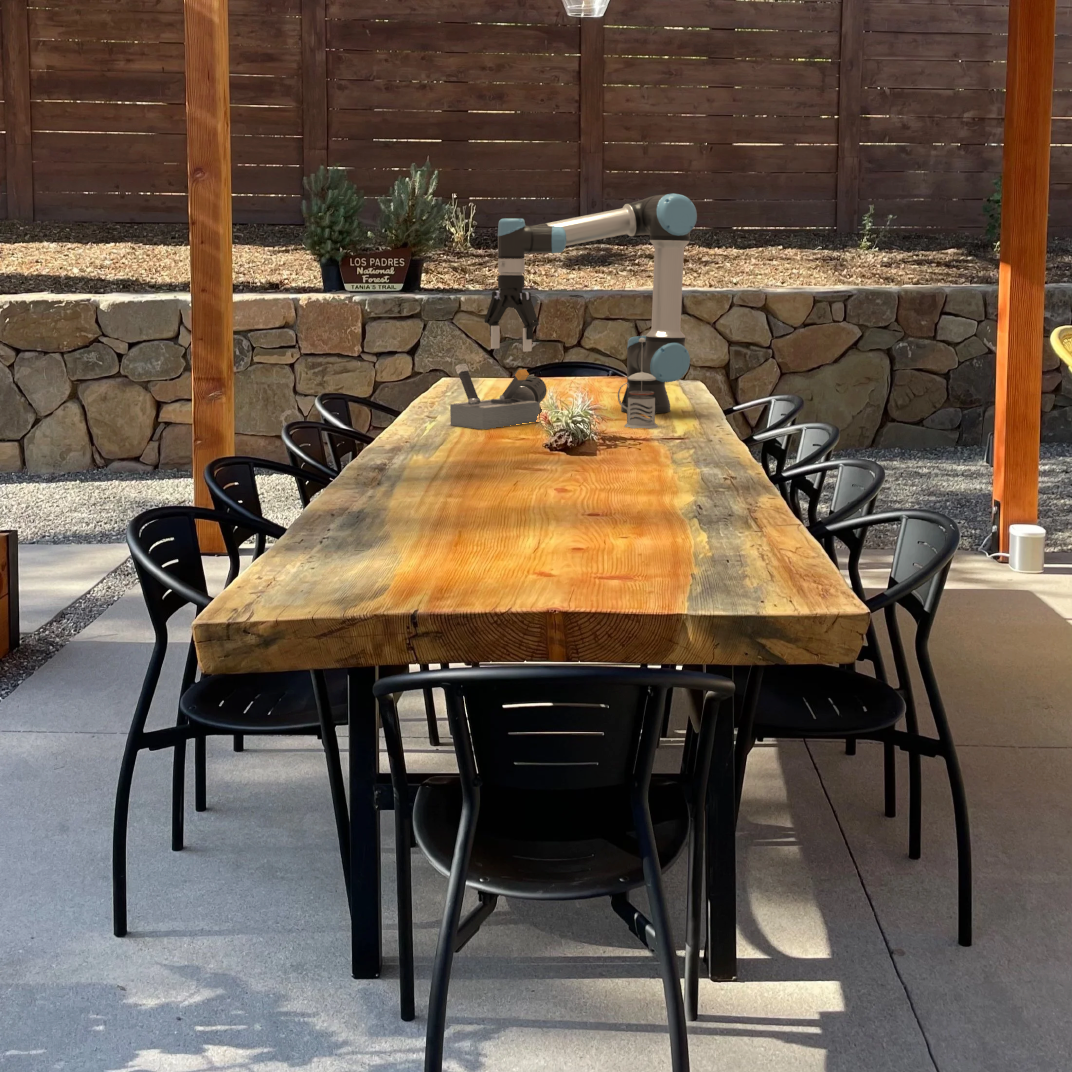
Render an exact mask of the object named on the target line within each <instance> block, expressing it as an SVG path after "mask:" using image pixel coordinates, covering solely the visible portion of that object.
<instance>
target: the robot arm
mask: <svg viewBox="0 0 1072 1072" xmlns="http://www.w3.org/2000/svg"><path fill="white" fill-rule="evenodd" d="M697 220H698V213H697V209H696V206H695V205H694V203H693V202H692V200H691V199H690V198H689V197H687V196H686V195H683V194H679V193H667V194H656V195H653V196H649V197H646V198H643V199H640V200H637V201H633V202H629V203H625V204H624V205H623V206H622V208H617V209H612V210H607V211H606V210H605V211H601V212H597V213H591V214H586V215H582V216H576V217H575V216H574V217H570V218H566V219H561V220H557V221H552V222H546V223H540V224H536V225H526V223H525V219H524V218H506V217H505V218H501V219H500V220H499V221H498V227H497V258H498V259H497V273H499V275H498V276H497V287H498V289H499V290H493V291H491V299H490V302H489V306H488V307H487V308H488V309H487V311H486V315H485V318H484V323H485V324H488V326H489V336H490V349H492V350H495V349H500V342H501V341H500V340H501V338H500V337H501V336H500V333H501V331H500V327H501V326H500V324H499V322H500V321H501V319H502V317H503V315H504V313H505V312H506V311H507V309H509V308H510V309H511V308H512V309H514V310H515V311H516V313H517V315H518V317H519V318H520V320H521V322H522V324H523V325H524V326H523V327H522V352H532V350H533V349H532V348H533V347H532V342H533V339H534V336H533V335H534V327H539V320H538V317H537V313H536V311H535V308H534V304H533V302H532V294H531V292H527V291H525V292H524V291H523V289H524V288H525V275H523V274H525V267H526V265H525V258H526V256H525V254H531V253H533V254H552V255H553V254H560V253H563V252H564V251H565V248H566V246H571V245H576V244H577V245H578V244H581V243H586V242H587V243H588V242H592V241H593V242H594V241H598V240H602V239H608V238H612V237H617V236H623V235H628V236H629V237H634V236H645V235H648V236H649V242H650V243H651V245H653V247H654V255H653V258H654V259H653V278H652V279H653V282H652V284H653V285H652V286H653V287H652V308H651V329H650V331H648V332H647V333H646V334H645V335H638V336H636V335H635V336H631V337H629V339H628V340H627V347H626V357H627V358H626V361H627V362H626V365H627V368H626V376H627V377H626V383H627V382H628V383H629V388H628V387H627V386H626V387H625V388H626V389H625V391H624V394H623V397H622V400H621V403H622V404H623V405H624V406H625V407H627V408H628V397H633V396H650V397H655V414H663V413H665V414H666V413H669V412H671V403H670V398H669V395H668V391H667V389H666V383H672V382H676V381H679V380H681V379H682V378H683V377H684V376H685V375H686V373H688V370H689V368H690V365H691V357H690V353H689V351H688V349H687V348H686V335H685V334H684V333H683V332H682V330H681V322H682V321H681V320H682V319H681V318H682V302H683V301H682V299H683V278H684V275H683V274H684V261H685V259H684V258H685V257H684V255H685V247H687V245H688V244H690V241H691V240H690V238H691V231H692V230H693V229H694V227H695V225H696V224H697ZM640 338H644V339H645V342H639V339H640ZM641 365H642V372H644V373H648V374H651V375H653V376H654V377H655V378H656V380H653V381H642V391H652V392H654V394H652V395H631V394H629V392H631V391H641V381H633V380H628V377H629V376H631V375H633V374H635V373H640V372H641ZM633 404H634V403H633ZM623 405H622V406H623ZM620 406H621V405H620ZM622 406H621V407H620V408H621V409H620V410H621V412H623V413H627V409H625V408H623V407H624V406H623V407H622ZM638 406H641V407H644V408H646V409H650V408H648V407H646V406H644V405H640V404H639V405H638ZM651 407H652V406H651ZM636 410H640V411H643V412H645V413H647V414H651V413H649V412H647V411H645V410H642V409H636ZM633 413H634V412H633Z"/></svg>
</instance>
